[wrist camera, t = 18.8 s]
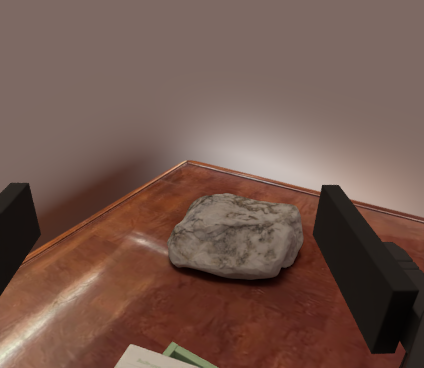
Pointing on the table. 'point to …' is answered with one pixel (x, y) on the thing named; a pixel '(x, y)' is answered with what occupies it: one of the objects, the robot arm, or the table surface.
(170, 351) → the bin
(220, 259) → the decorative stone
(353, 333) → the table surface
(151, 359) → the cosmetic box
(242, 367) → the table surface
